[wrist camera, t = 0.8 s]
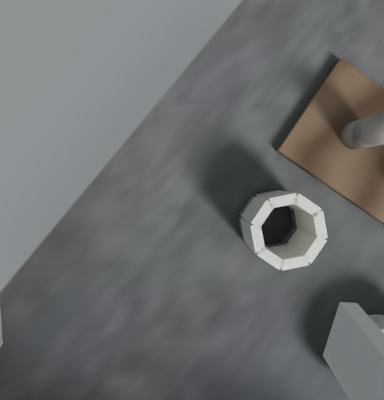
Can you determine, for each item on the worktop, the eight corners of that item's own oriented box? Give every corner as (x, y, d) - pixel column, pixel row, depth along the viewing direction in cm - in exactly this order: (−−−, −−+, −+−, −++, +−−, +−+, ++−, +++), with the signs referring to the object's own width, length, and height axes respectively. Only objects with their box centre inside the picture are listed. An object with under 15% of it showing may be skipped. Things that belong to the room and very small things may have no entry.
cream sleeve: (312, 213, 39) (340, 221, 32) (277, 263, 39) (298, 282, 32) (262, 179, 39) (279, 180, 32) (227, 230, 39) (237, 242, 32)
